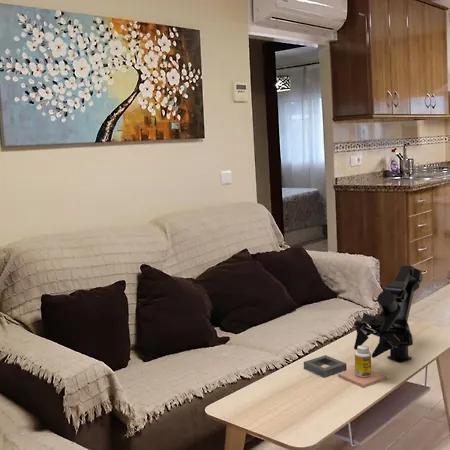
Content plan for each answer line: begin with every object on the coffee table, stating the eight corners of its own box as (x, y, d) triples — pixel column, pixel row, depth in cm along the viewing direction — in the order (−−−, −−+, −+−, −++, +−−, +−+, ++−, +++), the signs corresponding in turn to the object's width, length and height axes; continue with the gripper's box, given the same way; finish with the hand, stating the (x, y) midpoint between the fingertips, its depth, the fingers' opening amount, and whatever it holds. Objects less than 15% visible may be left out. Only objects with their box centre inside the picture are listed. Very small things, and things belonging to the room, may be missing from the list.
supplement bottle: (363, 379, 205) (363, 351, 204) (351, 374, 210) (351, 346, 208) (374, 375, 208) (374, 347, 207) (362, 370, 213) (362, 343, 211)
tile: (362, 368, 217) (362, 365, 217) (387, 378, 207) (387, 376, 207) (338, 376, 211) (338, 374, 210) (363, 387, 201) (363, 384, 201)
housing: (325, 361, 225) (325, 355, 225) (346, 370, 216) (346, 363, 216) (303, 368, 219) (303, 361, 219) (324, 377, 210) (324, 371, 210)
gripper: (357, 298, 216) (333, 333, 213) (393, 311, 200) (369, 348, 196) (373, 315, 221) (351, 349, 218) (411, 329, 205) (387, 366, 201)
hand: (363, 353), depth 208 cm, fingers open, 9 cm apart
